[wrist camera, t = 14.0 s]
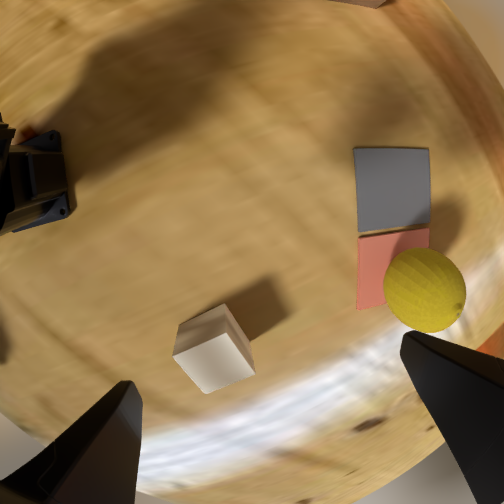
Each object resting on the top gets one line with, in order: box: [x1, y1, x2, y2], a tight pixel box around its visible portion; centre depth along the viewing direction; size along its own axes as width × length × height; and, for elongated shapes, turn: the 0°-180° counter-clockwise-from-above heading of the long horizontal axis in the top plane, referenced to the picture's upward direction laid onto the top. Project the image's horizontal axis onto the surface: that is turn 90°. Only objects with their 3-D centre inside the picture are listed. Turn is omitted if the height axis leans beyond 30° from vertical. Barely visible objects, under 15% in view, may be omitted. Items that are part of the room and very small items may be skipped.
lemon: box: [383, 247, 466, 333], centre depth 17 cm, size 6×6×8 cm
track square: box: [353, 148, 430, 232], centre depth 19 cm, size 7×6×1 cm
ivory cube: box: [172, 303, 256, 394], centre depth 19 cm, size 4×4×4 cm
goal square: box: [357, 227, 430, 310], centre depth 21 cm, size 7×6×1 cm
